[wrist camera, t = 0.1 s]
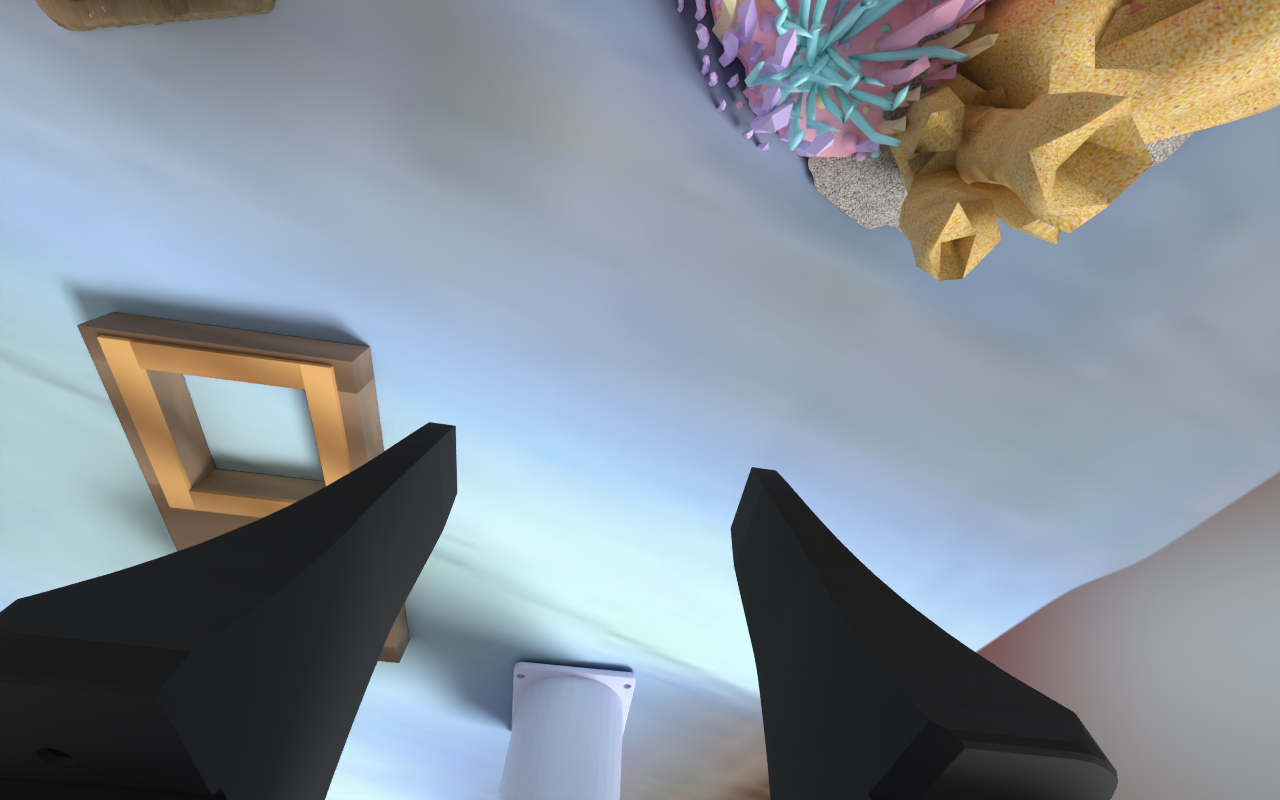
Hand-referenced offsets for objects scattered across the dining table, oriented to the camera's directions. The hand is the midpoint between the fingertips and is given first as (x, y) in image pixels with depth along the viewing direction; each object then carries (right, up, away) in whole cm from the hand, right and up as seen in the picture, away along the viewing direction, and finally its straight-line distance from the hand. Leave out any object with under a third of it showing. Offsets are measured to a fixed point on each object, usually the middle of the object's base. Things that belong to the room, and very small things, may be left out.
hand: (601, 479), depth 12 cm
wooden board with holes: (-17, -4, +14) cm, 23 cm away
